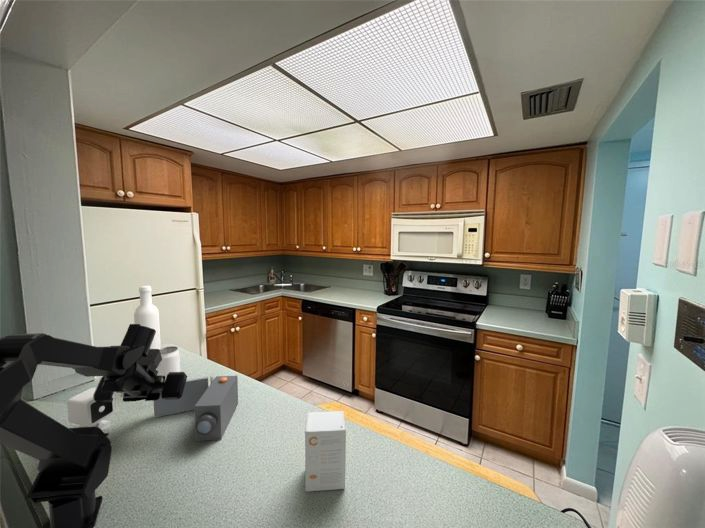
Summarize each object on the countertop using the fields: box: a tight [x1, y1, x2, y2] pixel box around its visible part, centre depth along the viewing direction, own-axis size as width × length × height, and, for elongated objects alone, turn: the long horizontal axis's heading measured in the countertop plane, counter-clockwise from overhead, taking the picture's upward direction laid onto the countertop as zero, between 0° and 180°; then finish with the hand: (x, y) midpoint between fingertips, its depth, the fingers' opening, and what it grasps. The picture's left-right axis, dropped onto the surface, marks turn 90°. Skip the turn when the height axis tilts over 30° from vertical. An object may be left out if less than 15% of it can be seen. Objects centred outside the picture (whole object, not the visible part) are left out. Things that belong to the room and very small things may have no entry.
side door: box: [153, 376, 209, 418], centre depth 80 cm, size 13×2×9 cm, turn 114°
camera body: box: [194, 375, 239, 442], centre depth 76 cm, size 17×8×10 cm, turn 6°
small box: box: [304, 410, 347, 493], centre depth 59 cm, size 8×6×13 cm
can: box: [156, 345, 181, 380], centre depth 94 cm, size 6×6×12 cm
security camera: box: [66, 387, 116, 431], centre depth 71 cm, size 6×7×10 cm
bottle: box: [133, 285, 162, 350], centre depth 108 cm, size 8×8×30 cm
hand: (154, 395), depth 77 cm, fingers closed, pressing on side door
